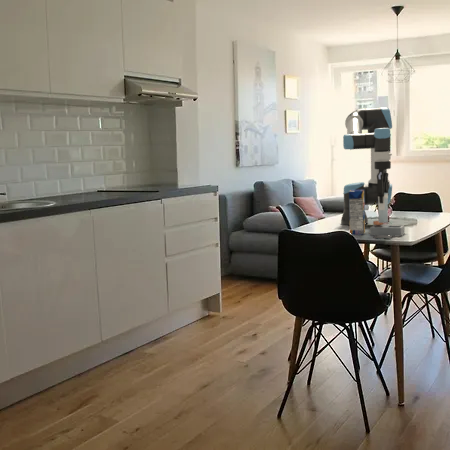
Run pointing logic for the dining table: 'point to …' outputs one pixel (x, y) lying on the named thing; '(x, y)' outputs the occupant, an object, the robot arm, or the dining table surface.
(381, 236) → the mat
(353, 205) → the beverage box
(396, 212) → the dining table surface
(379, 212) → the cartridge
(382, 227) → the housing
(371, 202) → the robot arm
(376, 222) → the plunger
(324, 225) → the dining table surface
